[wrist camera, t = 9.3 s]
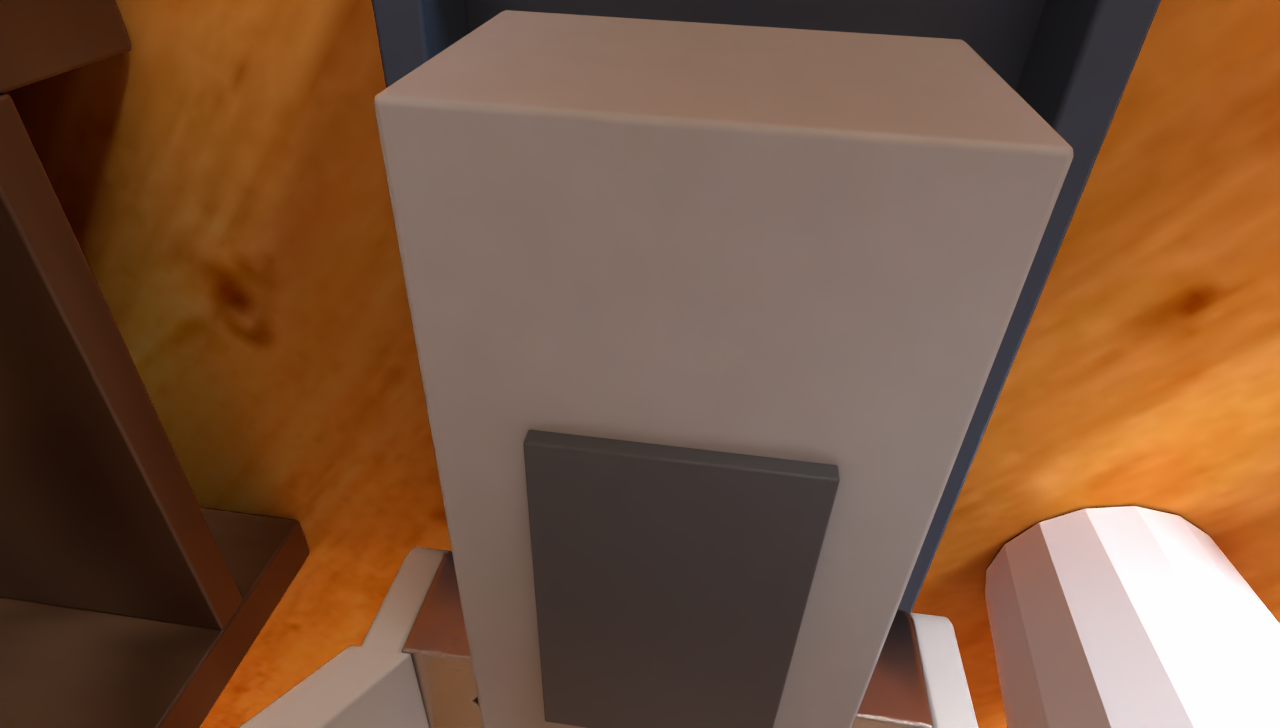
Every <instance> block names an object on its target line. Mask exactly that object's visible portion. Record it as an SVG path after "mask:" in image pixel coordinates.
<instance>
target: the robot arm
mask: <svg viewBox="0 0 1280 728" xmlns="http://www.w3.org/2000/svg"><path fill="white" fill-rule="evenodd" d="M239 728H483V726H482V720H481V714H480V709H479V703H478V697H477V692H476V686H475V680H474V674H473V669H472V663H471V657H470V652H469V646H468V640H467V634H466V629H465V623H464V617H463V611H462V606H461V600H460V594H459V589H458V583H457V577H456V571H455V566H454V560H453V554H452V551H447V550H440V549H433V548H425V547H418V546H415V547H414V548H413V549H412V550H411V551H410V552H409V553H408V554H407V555H406V557H405V559H404V561H403V563H402V565H401V567H400V569H399V571H398V573H397V575H396V577H395V579H394V581H393V583H392V585H391V587H390V589H389V591H388V593H387V595H386V597H385V599H384V601H383V603H382V605H381V607H380V609H379V611H378V613H377V615H376V617H375V619H374V621H373V623H372V625H371V627H370V629H369V631H368V633H367V635H366V636H365V638H364V640H363V642H362V644H361V646H353V645H350V646H349V647H347V648H346V649H344V650H343V651H342V652H340V653H339V654H338V655H336V656H335V657H334V658H332V659H331V660H330V661H328V662H327V663H325V664H324V665H323V666H321V667H320V668H319V669H317V670H316V671H315V672H313V673H312V674H311V675H309V676H308V677H306V678H305V679H304V680H302V681H301V682H300V683H298V684H297V685H296V686H294V687H293V688H291V689H290V690H289V691H287V692H286V693H285V694H283V695H282V696H281V697H279V698H278V699H277V700H275V701H274V702H272V703H271V704H270V705H268V706H267V707H266V708H264V709H263V710H262V711H260V712H259V713H258V714H256V715H255V716H253V717H252V718H251V719H249V720H248V721H247V722H245V723H244V724H243V725H241V726H240V727H239ZM852 728H978V724H977V720H976V716H975V712H974V708H973V704H972V700H971V696H970V692H969V688H968V684H967V680H966V676H965V672H964V668H963V664H962V660H961V656H960V652H959V648H958V644H957V640H956V636H955V632H954V628H953V625H952V623H951V622H950V621H949V619H948V618H947V617H943V616H935V615H927V614H918V613H910V612H906V611H903V610H897V612H896V615H895V617H894V620H893V622H892V625H891V627H890V630H889V633H888V635H887V638H886V640H885V643H884V645H883V648H882V651H881V653H880V656H879V658H878V661H877V663H876V666H875V669H874V671H873V674H872V676H871V679H870V681H869V684H868V687H867V689H866V692H865V694H864V697H863V699H862V702H861V705H860V707H859V710H858V712H857V715H856V717H855V720H854V723H853V725H852Z"/></svg>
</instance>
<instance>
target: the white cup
mask: <svg viewBox="0 0 1280 728" xmlns="http://www.w3.org/2000/svg"><path fill="white" fill-rule="evenodd" d="M985 599H986V605H987V611H988V617H989V623H990V629H991V634H992V640H993V646H994V652H995V658H996V664H997V670H998V676H999V682H1000V687H1001V693H1002V699H1003V705H1004V711H1005V717H1006V723H1007V728H1280V624H1279V622H1278V621H1277V620H1276V619H1275V617H1274V616H1273V615H1272V614H1271V612H1270V611H1269V610H1268V609H1267V607H1266V606H1265V605H1264V604H1263V602H1262V601H1261V600H1260V599H1259V597H1258V596H1257V595H1256V594H1255V592H1254V591H1253V590H1252V589H1251V587H1250V586H1249V585H1248V584H1247V582H1246V581H1245V580H1244V579H1243V577H1242V576H1241V575H1240V574H1239V572H1238V571H1237V570H1236V568H1235V567H1234V566H1233V565H1232V563H1231V562H1230V561H1229V560H1228V558H1227V557H1226V556H1225V555H1224V553H1223V552H1222V551H1221V550H1220V548H1219V547H1218V546H1217V545H1216V543H1215V542H1214V541H1213V540H1212V538H1211V537H1210V536H1209V535H1208V534H1206V533H1205V532H1203V531H1202V530H1200V529H1198V528H1197V527H1195V526H1194V525H1192V524H1191V523H1189V522H1188V521H1186V520H1185V519H1183V518H1182V517H1180V516H1179V515H1174V514H1169V513H1165V512H1160V511H1155V510H1151V509H1146V508H1142V507H1137V506H1124V507H1105V508H1087V509H1082V510H1078V511H1075V512H1072V513H1069V514H1065V515H1062V516H1059V517H1055V518H1052V519H1049V520H1045V521H1042V522H1039V523H1037V524H1036V525H1034V526H1033V527H1031V528H1029V529H1028V530H1026V531H1025V532H1023V533H1022V534H1020V535H1019V536H1017V537H1015V538H1014V539H1012V540H1011V541H1009V542H1008V543H1006V544H1004V546H1003V547H1002V549H1001V550H1000V552H999V553H998V554H997V556H996V557H995V559H994V560H993V561H992V563H991V564H990V566H989V567H988V568H987V570H986V585H985Z"/></svg>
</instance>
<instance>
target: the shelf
mask: <svg viewBox="0 0 1280 728" xmlns="http://www.w3.org/2000/svg"><path fill="white" fill-rule="evenodd" d="M130 49H131V45H130V42H129V39H128V36H127V34H126V31H125V28H124V25H123V22H122V19H121V17H120V14H119V11H118V8H117V5H116V2H115V0H0V728H199V727H200V726H201V724H202V723H203V721H204V720H205V718H206V716H207V715H208V713H209V712H210V710H211V709H212V707H213V705H214V704H215V702H216V701H217V699H218V698H219V696H220V694H221V693H222V691H223V690H224V688H225V687H226V685H227V683H228V682H229V680H230V679H231V677H232V676H233V674H234V672H235V671H236V669H237V668H238V666H239V664H240V663H241V661H242V660H243V658H244V657H245V655H246V653H247V652H248V650H249V649H250V647H251V646H252V644H253V642H254V641H255V639H256V638H257V636H258V635H259V633H260V631H261V630H262V628H263V627H264V625H265V624H266V622H267V620H268V619H269V617H270V616H271V614H272V612H273V611H274V609H275V608H276V606H277V605H278V603H279V601H280V600H281V598H282V597H283V595H284V594H285V592H286V590H287V589H288V587H289V586H290V584H291V583H292V581H293V579H294V578H295V576H296V575H297V573H298V572H299V570H300V568H301V567H302V565H303V564H304V562H305V561H306V559H307V557H308V556H309V553H310V552H309V549H308V546H307V543H306V541H305V538H304V535H303V532H302V529H301V526H300V524H299V522H298V521H296V520H289V519H281V518H274V517H266V516H259V515H251V514H244V513H236V512H229V511H221V510H214V509H206V508H200V506H199V504H198V502H197V499H196V497H195V495H194V493H193V491H192V488H191V486H190V484H189V482H188V480H187V478H186V475H185V473H184V471H183V469H182V467H181V465H180V462H179V460H178V458H177V456H176V454H175V452H174V449H173V447H172V445H171V443H170V441H169V439H168V436H167V434H166V432H165V430H164V428H163V426H162V423H161V421H160V419H159V417H158V415H157V413H156V410H155V408H154V406H153V404H152V402H151V400H150V397H149V395H148V393H147V391H146V389H145V387H144V384H143V382H142V380H141V378H140V376H139V374H138V371H137V369H136V367H135V365H134V363H133V361H132V358H131V356H130V354H129V352H128V350H127V348H126V345H125V343H124V341H123V339H122V337H121V335H120V332H119V330H118V328H117V326H116V324H115V321H114V319H113V317H112V315H111V313H110V311H109V308H108V306H107V304H106V302H105V300H104V298H103V295H102V293H101V291H100V289H99V287H98V285H97V282H96V280H95V278H94V276H93V274H92V272H91V269H90V267H89V265H88V263H87V261H86V259H85V256H84V254H83V252H82V250H81V248H80V246H79V243H78V241H77V239H76V237H75V235H74V233H73V230H72V228H71V226H70V224H69V222H68V220H67V217H66V215H65V213H64V211H63V209H62V207H61V204H60V202H59V200H58V198H57V196H56V194H55V191H54V189H53V187H52V185H51V183H50V181H49V178H48V176H47V174H46V172H45V170H44V168H43V165H42V163H41V161H40V159H39V157H38V154H37V152H36V150H35V148H34V146H33V144H32V141H31V139H30V137H29V135H28V133H27V131H26V128H25V126H24V124H23V122H22V120H21V118H20V115H19V113H18V111H17V109H16V107H15V105H14V102H13V100H12V98H11V97H10V96H9V95H8V94H3V93H5V92H8V91H11V90H14V89H17V88H20V87H23V86H26V85H29V84H32V83H35V82H38V81H41V80H44V79H47V78H50V77H53V76H56V75H59V74H62V73H65V72H68V71H71V70H73V69H76V68H79V67H82V66H85V65H88V64H91V63H94V62H97V61H100V60H103V59H106V58H109V57H112V56H115V55H118V54H121V53H124V52H127V51H129V50H130Z"/></svg>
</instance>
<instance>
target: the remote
mask: <svg viewBox="0 0 1280 728" xmlns="http://www.w3.org/2000/svg"><path fill="white" fill-rule="evenodd" d="M374 108H375V113H376V119H377V125H378V131H379V136H380V142H381V148H382V153H383V159H384V165H385V171H386V176H387V182H388V188H389V193H390V199H391V205H392V211H393V216H394V222H395V228H396V234H397V239H398V245H399V251H400V256H401V262H402V268H403V274H404V279H405V285H406V291H407V297H408V302H409V308H410V314H411V319H412V325H413V331H414V337H415V342H416V348H417V354H418V360H419V365H420V371H421V377H422V382H423V388H424V394H425V400H426V405H427V411H428V417H429V422H430V428H431V434H432V440H433V445H434V451H435V457H436V463H437V468H438V474H439V480H440V485H441V491H442V497H443V503H444V508H445V514H446V520H447V526H448V531H449V537H450V543H451V548H452V554H453V560H454V566H455V571H456V577H457V583H458V589H459V594H460V600H461V606H462V611H463V617H464V623H465V629H466V634H467V640H468V646H469V652H470V657H471V663H472V669H473V674H474V680H475V686H476V692H477V697H478V703H479V709H480V714H481V720H482V726H483V728H852V725H853V723H854V720H855V717H856V715H857V712H858V710H859V707H860V705H861V702H862V699H863V697H864V694H865V692H866V689H867V687H868V684H869V681H870V679H871V676H872V674H873V671H874V669H875V666H876V663H877V661H878V658H879V656H880V653H881V651H882V648H883V645H884V643H885V640H886V638H887V635H888V633H889V630H890V627H891V625H892V622H893V620H894V617H895V615H896V612H897V609H898V607H899V604H900V602H901V599H902V597H903V594H904V591H905V589H906V586H907V584H908V581H909V579H910V576H911V573H912V571H913V568H914V566H915V563H916V561H917V558H918V555H919V553H920V550H921V548H922V545H923V543H924V540H925V537H926V535H927V532H928V530H929V527H930V525H931V522H932V519H933V517H934V514H935V512H936V509H937V507H938V504H939V501H940V499H941V496H942V494H943V491H944V489H945V486H946V483H947V481H948V478H949V476H950V473H951V471H952V468H953V465H954V463H955V460H956V458H957V455H958V453H959V450H960V447H961V445H962V442H963V440H964V437H965V435H966V432H967V429H968V427H969V424H970V422H971V419H972V416H973V414H974V411H975V409H976V406H977V404H978V401H979V398H980V396H981V393H982V391H983V388H984V386H985V383H986V380H987V378H988V375H989V373H990V370H991V368H992V365H993V362H994V360H995V357H996V355H997V352H998V350H999V347H1000V344H1001V342H1002V339H1003V337H1004V334H1005V332H1006V329H1007V326H1008V324H1009V321H1010V319H1011V316H1012V314H1013V311H1014V308H1015V306H1016V303H1017V301H1018V298H1019V296H1020V293H1021V290H1022V288H1023V285H1024V283H1025V280H1026V278H1027V275H1028V272H1029V270H1030V267H1031V265H1032V262H1033V260H1034V257H1035V254H1036V252H1037V249H1038V247H1039V244H1040V242H1041V239H1042V236H1043V234H1044V231H1045V229H1046V226H1047V224H1048V221H1049V218H1050V216H1051V213H1052V211H1053V208H1054V206H1055V203H1056V200H1057V198H1058V195H1059V193H1060V190H1061V188H1062V185H1063V182H1064V180H1065V177H1066V175H1067V172H1068V170H1069V167H1070V164H1071V162H1072V159H1073V148H1072V147H1071V146H1070V145H1069V144H1068V143H1067V142H1066V141H1065V140H1064V139H1063V138H1062V137H1061V136H1060V135H1059V134H1058V133H1057V132H1056V131H1055V130H1054V129H1053V128H1052V127H1051V126H1050V125H1049V124H1048V123H1047V122H1046V121H1045V120H1044V119H1043V118H1042V117H1041V116H1040V115H1039V114H1038V113H1037V112H1036V111H1035V110H1034V109H1033V108H1032V107H1031V106H1030V105H1029V104H1028V103H1027V102H1026V101H1025V100H1024V99H1023V98H1022V97H1021V96H1020V95H1019V94H1018V93H1017V92H1016V91H1015V90H1013V89H1012V88H1011V87H1010V86H1009V85H1008V84H1007V83H1006V82H1005V81H1004V80H1003V79H1002V78H1001V77H1000V76H999V75H998V74H997V73H996V72H995V71H994V70H993V69H992V68H991V67H990V66H989V65H988V64H987V63H986V62H985V61H984V60H983V59H982V58H981V57H980V56H979V55H978V54H977V53H976V52H975V51H974V50H973V49H972V48H971V47H970V46H969V45H968V44H967V43H966V42H964V41H963V40H960V39H945V38H929V37H914V36H898V35H883V34H867V33H852V32H836V31H821V30H805V29H790V28H774V27H759V26H743V25H728V24H712V23H697V22H681V21H666V20H650V19H635V18H619V17H604V16H588V15H573V14H557V13H542V12H526V11H511V10H505V11H503V12H501V13H499V14H498V15H496V16H495V17H493V18H492V19H490V20H489V21H487V22H486V23H484V24H483V25H481V26H480V27H478V28H477V29H475V30H474V31H472V32H471V33H469V34H467V35H466V36H464V37H463V38H461V39H460V40H458V41H457V42H455V43H454V44H452V45H451V46H449V47H448V48H446V49H445V50H443V51H442V52H440V53H439V54H437V55H436V56H434V57H433V58H431V59H430V60H428V61H427V62H425V63H424V64H422V65H421V66H419V67H418V68H416V69H415V70H413V71H412V72H410V73H409V74H407V75H406V76H404V77H402V78H401V79H399V80H398V81H396V82H395V83H393V84H392V85H390V86H389V87H387V88H386V89H384V90H383V91H381V92H380V93H378V94H377V95H376V96H375V100H374Z"/></svg>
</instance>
